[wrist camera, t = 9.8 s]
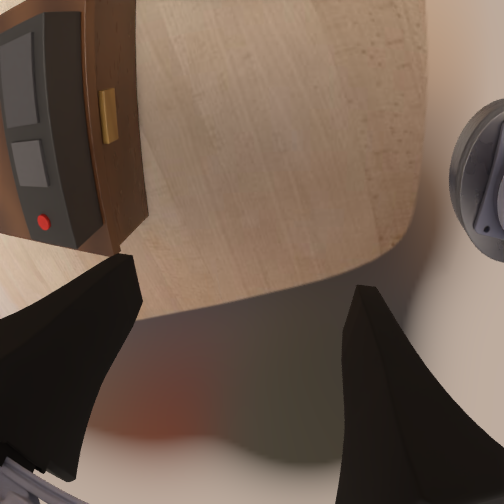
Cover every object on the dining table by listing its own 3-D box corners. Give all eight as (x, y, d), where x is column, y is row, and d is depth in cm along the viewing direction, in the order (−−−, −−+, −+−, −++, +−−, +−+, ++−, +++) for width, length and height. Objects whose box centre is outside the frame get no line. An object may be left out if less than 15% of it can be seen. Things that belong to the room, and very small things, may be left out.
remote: (31, 30, 11) (-8, 36, 9) (81, 10, 10) (40, 11, 8) (57, 218, 18) (28, 241, 16) (103, 225, 17) (75, 252, 15)
